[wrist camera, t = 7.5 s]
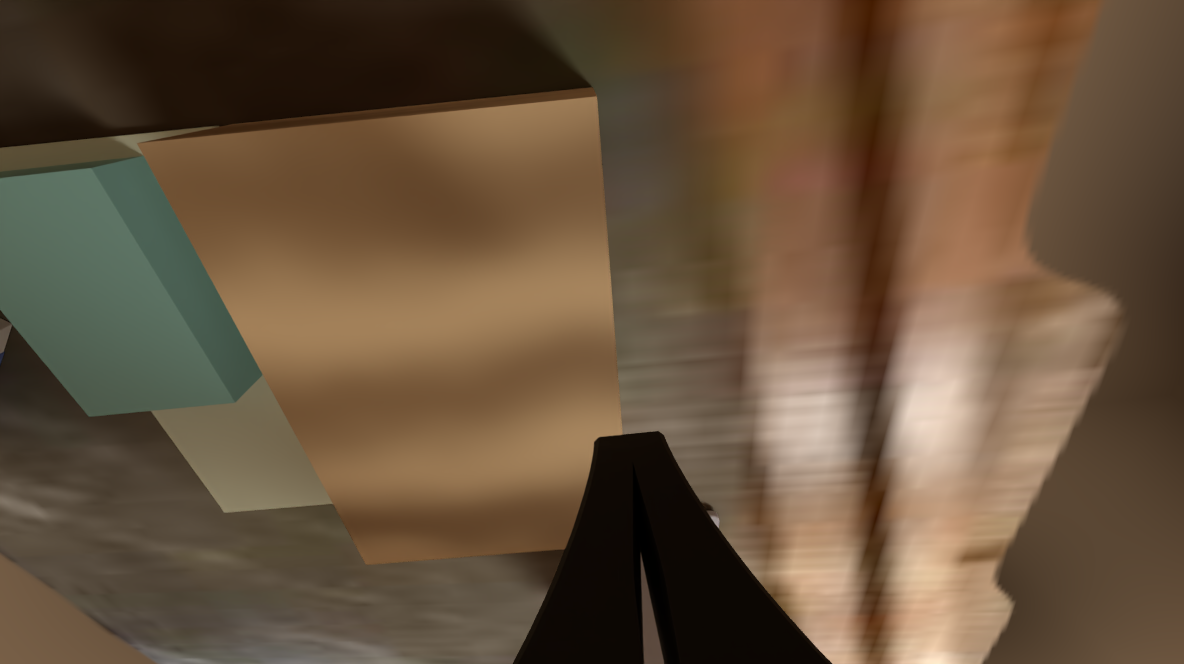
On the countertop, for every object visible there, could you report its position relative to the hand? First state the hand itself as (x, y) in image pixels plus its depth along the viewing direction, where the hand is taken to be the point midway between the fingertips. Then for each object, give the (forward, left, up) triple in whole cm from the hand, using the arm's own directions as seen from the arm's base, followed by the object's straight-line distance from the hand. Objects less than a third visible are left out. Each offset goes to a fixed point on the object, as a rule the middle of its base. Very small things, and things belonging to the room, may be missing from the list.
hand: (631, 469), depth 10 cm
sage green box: (+1, +18, -8) cm, 20 cm away
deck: (-2, +6, -10) cm, 12 cm away
